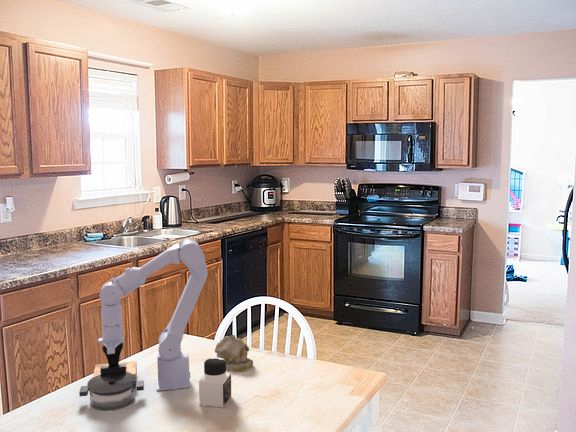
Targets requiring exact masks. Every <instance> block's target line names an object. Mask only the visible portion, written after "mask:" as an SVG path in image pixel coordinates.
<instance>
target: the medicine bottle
mask: <svg viewBox="0 0 576 432" xmlns="http://www.w3.org/2000/svg"><path fill="white" fill-rule="evenodd" d="M203 371H204V372H203V373H204V375H203V376H202V377H201V378H200V380H199V381H198V397H199V398H198V399H199V402H198V403H199V406H204V407H214V408H225V406H226V405H227V403H228V402H229V400H230V399H231V397H232V374H231V372H227V370H226V361H225V360H224V359H222V358H217V356H216V357H215V356H214V357H211V358H208V359H205V360H204V363H203Z"/></svg>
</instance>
